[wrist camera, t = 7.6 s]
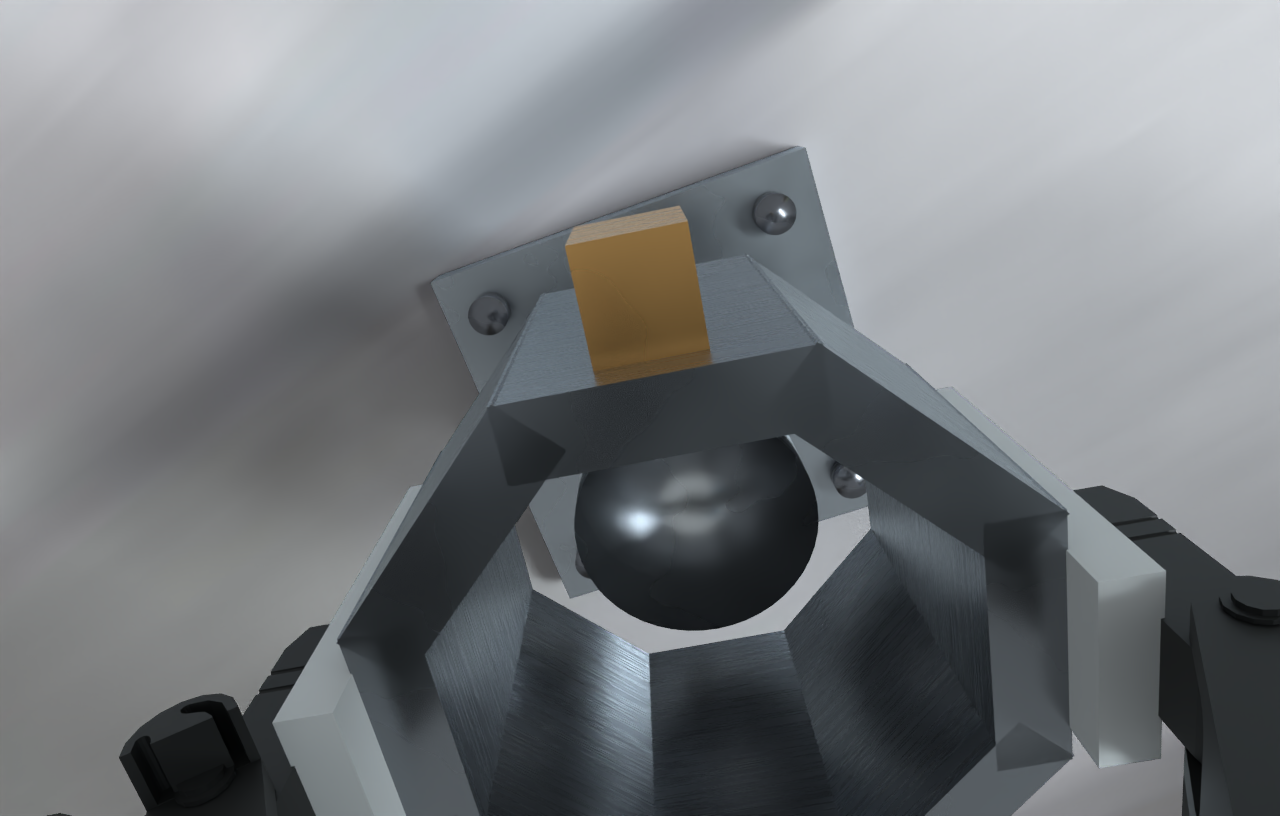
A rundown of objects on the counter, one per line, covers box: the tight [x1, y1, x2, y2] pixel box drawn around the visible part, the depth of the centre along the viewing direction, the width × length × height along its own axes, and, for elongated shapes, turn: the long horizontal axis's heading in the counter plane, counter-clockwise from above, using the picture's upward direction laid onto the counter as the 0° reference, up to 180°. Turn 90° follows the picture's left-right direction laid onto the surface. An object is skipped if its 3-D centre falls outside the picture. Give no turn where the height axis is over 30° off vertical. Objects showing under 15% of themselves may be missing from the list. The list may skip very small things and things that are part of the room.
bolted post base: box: [431, 146, 868, 631], centre depth 19 cm, size 10×10×8 cm
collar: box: [336, 206, 1074, 816], centre depth 13 cm, size 10×9×6 cm
